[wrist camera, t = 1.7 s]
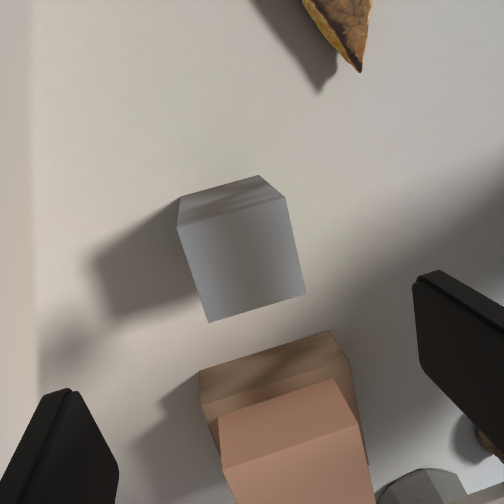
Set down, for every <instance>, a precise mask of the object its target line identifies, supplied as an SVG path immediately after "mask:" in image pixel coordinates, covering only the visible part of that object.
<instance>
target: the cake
mask: <svg viewBox="0 0 504 504" xmlns="http://www.w3.org/2000/svg"><path fill="white" fill-rule="evenodd" d="M477 428H478V427H477ZM477 437H478V441H479V443H480V444H481V446H482V447H483V448H484V449H485V450H486V451H489V452H490V453H491V454H494V455H495V456H497V457H498V458H499V459H500V461H501V462H502V463H503V464H504V454H503V453H502V452H501V451H500V450H499V449H498V448H497V447H496V446H495V445H494V444H493V443H492V442H491V441H490V440H489V439H488V438H487V437H486V436H485V434H484V433H483V432H482V431H481V430H480V429H479V428H478V429H477Z"/></svg>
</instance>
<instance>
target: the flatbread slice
mask: <svg viewBox="0 0 504 504" xmlns="http://www.w3.org/2000/svg"><path fill="white" fill-rule="evenodd" d="M301 1H302V3H303V5H304V6H305V8H306V10H307V12H308V13H309V15H310V16H311V18H312V19H313V20H314V22H315V24H316V25H317V27H318V29H319V30H320V31H321V33H322V34H323V35H324V37H325V38H326V39H327V41H328V42H329V43H330V45H331V46H333V47H334V48H336V50H337V51H338V52H339V53H340V54H341V56H342V57H343V58H344V59H345V60H346V61H347V62H348V63H350V64H351V65H352V66H353V67H354V68H355V69H356V70H357V71H358V72H359V73H361V72H362V64H363V56H364V51H365V47H366V46H365V45H366V41H367V37H368V24H369V22H368V19H369V15H370V10H371V5H372V0H301Z"/></svg>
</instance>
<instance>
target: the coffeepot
mask: <svg viewBox="0 0 504 504" xmlns="http://www.w3.org/2000/svg"><path fill="white" fill-rule="evenodd" d="M466 495H467V493H466V491H465V489H464V488H463V486H462V484H461V482H460V480H459V478H458V476H457V474H454V473H451V472H448V471H445V470H441V469H423V470H419V471H415V472H412V473H410V474H407V475H405V476H403V477H402V478H400V479H398V480H397V481H395V482H394V483H393V484H391V485H390V486H389V487H388V488H387V489H386V490H385V491H384V493H383V494H382V495H381V497H380V499H379V501H378V503H377V504H444V503H447V502H450V501H453V500H455V499H458V498H461V497H464V496H466Z"/></svg>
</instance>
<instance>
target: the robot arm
mask: <svg viewBox="0 0 504 504" xmlns="http://www.w3.org/2000/svg"><path fill="white" fill-rule="evenodd" d="M412 292H413V302H414V312H415V322H416V332H417V342H418V352H419V361H420V364H421V367H422V369H423V370H424V372H425V373H426V374H427V375H428V376H429V377H430V378H431V380H432V381H433V382H434V383H435V384H436V385H437V386H438V387H439V388H440V389H441V390H442V391H443V392H444V393H445V394H446V395H447V396H448V397H449V398H450V399H451V400H452V401H453V402H454V403H455V404H456V405H457V406H458V408H459V409H460V410H461V411H462V412H463V413H464V414H465V415H466V416H467V417H468V418H469V419H470V420H471V421H472V422H473V423H474V424H475V425H476V426H477V427H478V428H479V429H480V430H481V431H482V432H483V433H484V434H485V436H486V437H487V438H488V439H489V440H490V441H491V442H492V443H493V444H494V445H495V446H496V447H497V448H498V449H499V450H500V451H501V452H502V453H503V454H504V307H503V306H501V305H499V304H498V303H496V302H494V301H493V300H491V299H489V298H487V297H486V296H484V295H482V294H480V293H479V292H477V291H475V290H474V289H472V288H470V287H468V286H467V285H465V284H463V283H461V282H460V281H458V280H456V279H455V278H453V277H451V276H449V275H448V274H446V273H444V272H443V271H440V270H436V271H433V272H430V273H427V274H424V275H420V276H418V277H417V280H416V283H414V284H413V286H412ZM118 480H119V469H118V464H117V462H116V460H115V458H114V456H113V454H112V453H111V451H110V449H109V447H108V445H107V443H106V441H105V439H104V437H103V436H102V434H101V432H100V430H99V428H98V426H97V424H96V422H95V420H94V419H93V417H92V415H91V413H90V411H89V409H88V407H87V405H86V404H85V402H84V400H83V398H82V396H81V394H80V393H79V392H78V391H74V392H73V391H72V390H71V389H69V388H65V389H62V390H59V391H55V392H52V393H49V394H46V395H44V396H43V397H42V399H41V400H40V402H39V404H38V406H37V408H36V410H35V412H34V414H33V416H32V418H31V420H30V423H29V424H28V426H27V428H26V430H25V433H24V435H23V437H22V439H21V441H20V443H19V445H18V447H17V449H16V451H15V453H14V455H13V457H12V459H11V461H10V463H9V465H8V467H7V469H6V471H5V473H4V475H3V477H2V479H1V481H0V504H115V498H116V492H117V486H118ZM444 504H504V482H502V483H499V484H497V485H494V486H491V487H488V488H486V489H483V490H480V491H477V492H475V493H472V494H469V495H466V496H464V497H461V498H458V499H455V500H453V501H450V502H447V503H444Z"/></svg>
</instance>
